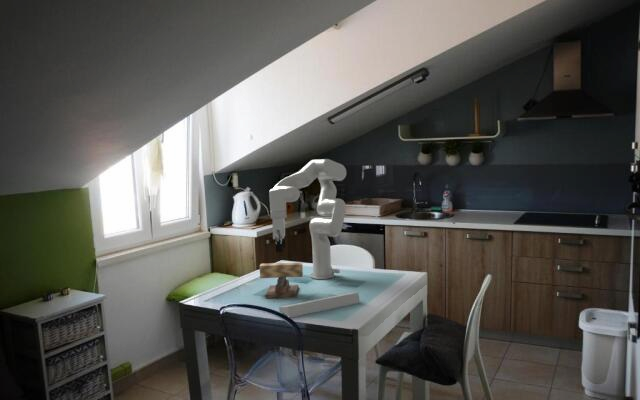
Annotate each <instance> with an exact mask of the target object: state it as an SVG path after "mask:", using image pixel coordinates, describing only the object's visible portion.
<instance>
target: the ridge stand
mask: <svg viewBox="0 0 640 400" xmlns="http://www.w3.org/2000/svg"><path fill="white" fill-rule="evenodd" d="M299 287H300V286H299V284H290V280H289V279H287V277H285V278H277V282H276V284H275V285H273V284H271V285H269V287H268V289H267V290H266V293H265V294H264V295H265V299H280V298H281V299H284V298H286V299H287V298H290V299H291V298H297V294H298V291H299Z"/></svg>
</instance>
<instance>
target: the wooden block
mask: <svg viewBox="0 0 640 400" xmlns="http://www.w3.org/2000/svg"><path fill="white" fill-rule="evenodd" d="M303 271H304V270H303V262H301V261H300V262H276V263H275V262H272V263H271V262H270V263H260V265H259V278H260V279H275V278H276V279H278V278H285V277H286V278H303V275H304V272H303Z"/></svg>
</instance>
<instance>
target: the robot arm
mask: <svg viewBox="0 0 640 400" xmlns="http://www.w3.org/2000/svg"><path fill="white" fill-rule="evenodd" d="M346 176H347V169H346V167H345V166H344V165H343V164H342V163H339V162H336V161H334V160H332V159H329V158H323V159H322V158H321V159H320V158H317V159H311V160H310V161H309V162H307V163H306V164H305V165H304V166H303V167H302V168H301V169H299V170H298V171H297V172H295V173H293V174H291V175H289V176H286V177H284V178H283V179H281V180H280V181H278V182H277V183H276V184H275V185H274V187H273V188H271V189H270V190H269V192H268V193H269V195H268V197H269V209H270V210H269V211H270V213H269V214H270V219H272V239H273V240H275V252H276V253H277V254H279V253H283V252H284V248H286V239H285V238H286V237H285V236H286V224H285V223H286V222H285V218H288V216H287V203H293V202H297V201H298V200H299V198H300V197H301V196H300V195H301V191H300V190H299V189H303V188H306V187H309V186H310V185H311V184H312V183H313V182H314V180H316V179H317V180H318V181H319V182H318V183H320V193H319V197H318V201H317V205H316V212H317V214H318V215H319V216H321V217H319V216H317V217H314V218H312V219H311V220H310V221H309V233H310V236H311V247H312V248H311V250H312V269H313V271H312V273H311V274H310V278H312V279H315V280H327V279H333V278H334V277H335V274H340V273H341V271H340V270H341V269H338V268H333V267H332V256H331V242H330V240H329V237H334V238H335V237H338V236H339V235H340V234H341V232H342V231H343V230H342V229H343V225H344V221H345V216H346V212H347V206H346V202H345V201H344V200H343V199H341V198H336V197H337V192H338V191H337V187H336V185H335V184H334V182H333V181H335V182H336V181H338V182H342V181H343V180H344V179H345V178H346ZM322 216H324V217H322Z"/></svg>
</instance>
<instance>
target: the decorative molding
mask: <svg viewBox="0 0 640 400" xmlns="http://www.w3.org/2000/svg"><path fill="white" fill-rule="evenodd" d="M360 303H361V301H360V295H359V292H349V293H343V294H337V295H332V296H329V297H324V298H317V299H312V300H309V301H307V300H306V301H303V302H299V303H293V304H288V305H282V306H279V307H278V309H279V312H282V313H281V314H283V313H284V314H283V315H285V316H286V315H287V316H289V317H291V318H294V316H295V317H300V316H304V315H303V314H305V315H308V313H310V314H313V313H312V312H314V313H317V312H318V311H319V312H323V310H324V311H328V310H332V309H337V308H342V307H347V306H351V305H356V304H360ZM299 315H300V316H299ZM287 316H286V317H287ZM289 317H288V318H289Z"/></svg>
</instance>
